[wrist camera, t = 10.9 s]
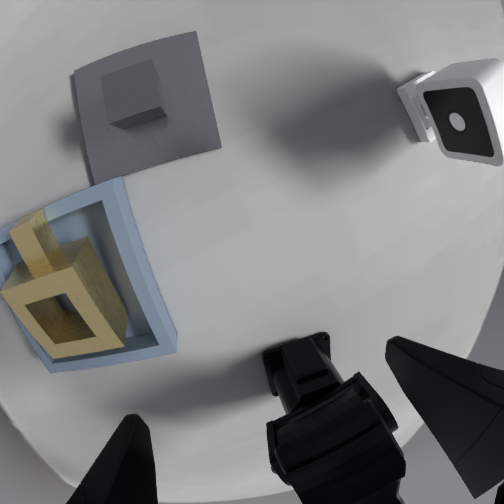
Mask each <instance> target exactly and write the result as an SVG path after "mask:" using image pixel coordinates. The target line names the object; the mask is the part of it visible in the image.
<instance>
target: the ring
mask: <svg viewBox="0 0 504 504" xmlns="http://www.w3.org/2000/svg"><path fill="white" fill-rule="evenodd" d="M9 233H10V235H11V237H12V239H13V241H14V243H15V245H16V247H17V249H18V251H19V253H20V254H21V256H22V258H23V261H21V262H19V263H18V264H17V266H16V267H15V269H14V270H13V272H12V273H11V275H10V276H9V278H8V280H7V281H6V283H5V284H4V286H3V288H2V289H1V291H0V293H1V294H2V296H3V297H4V299H5V300H6V302H7V303H8V304H9V306H10V307H11V309H12V310H13V311H14V313H15V314H16V315H17V317H18V318H19V319H20V321H21V322H22V323H23V324H24V326H25V327H26V328H27V329H28V331H29V332H30V333H31V334H32V335H33V337H34V338H35V339H36V340H37V341H38V343H39V344H40V345H41V346H42V347H43V348H44V349H45V350H46V352H47V353H48V354H49V355H50V356H51V357H52V358H53V359H56V358H62V357H69V356H75V355H81V354H87V353H93V352H99V351H104V350H110V349H115V348H120V347H125V339H126V330H127V321H128V313H129V311H128V310H127V308H126V307H125V305H124V303H123V301H122V300H121V298H120V296H119V295H118V293H117V291H116V289H115V288H114V286H113V284H112V282H111V280H110V279H109V277H108V275H107V273H106V271H105V269H104V267H103V265H102V264H101V262H100V260H99V258H98V256H97V254H96V252H95V250H94V248H93V246H92V244H91V241H90V239H89V237H88V236H86V237H83V238H80V239H77V240H74V241H72V242H69V243H66V244H64V245H61V246H59V244H58V242H57V240H56V238H55V236H54V234H53V232H52V230H51V228H50V226H49V224H48V221H47V219H46V217H45V215H44V213H43V210H42V208H40V209H38V210H36V211H34V212H32V213H30V214H28V215H26V216H24V217H22V218H21V219H20V220H19V221H18V222H17V223H16V224H15V225H14V226H13V227H12V228H11V230H10V231H9ZM63 293H66V294H67V296H68V297H69V299H70V300H71V302H72V303H73V305H74V306H75V308H76V309H75V310H71V311H67V312H65V311H64V309H63V308H62V306H61V305H60V303H59V302H58V301H57V299H56V298H55V296H56V295H59V294H63Z"/></svg>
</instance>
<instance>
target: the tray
mask: <svg viewBox="0 0 504 504" xmlns="http://www.w3.org/2000/svg"><path fill="white" fill-rule="evenodd" d="M42 210H43V213H44V215H45V217H46V219H47V221H48V224H49V226H50V228H51V230H52V232H53V234H54V236H55V238H56V240H57V242H58V244H59V246H61V245H64V244H66V243H69V242H72V241H74V240H77V239H80V238H83V237H86V236H88V237H89V239H90V241H91V244H92V246H93V248H94V250H95V252H96V254H97V256H98V258H99V260H100V262H101V264H102V265H103V267H104V269H105V271H106V273H107V275H108V277H109V279H110V280H111V282H112V284H113V286H114V288H115V289H116V291H117V293H118V295H119V296H120V298H121V300H122V301H123V303H124V305H125V307H126V308H127V310H128V311H129V313H128V321H127V330H126V339H125V347H120V348H115V349H110V350H104V351H99V352H93V353H87V354H81V355H75V356H69V357H62V358H56V359H53V358H52V357H51V356H50V355H49V354H48V353H47V352H46V350H45V349H44V348H43V347H42V346H41V345H40V344H39V343H38V341H37V340H36V339H35V338H34V337H33V335H32V334H31V333H30V332H29V331H28V329H27V328H26V327H25V326H24V324H23V323H22V322H21V321H20V319H19V318H18V317H17V315H16V314H15V313H14V311H13V310H12V309H11V310H12V312H13V314H14V316H15V318H16V320H17V321H18V323H19V325H20V327H21V328H22V330H23V332H24V334H25V335H26V337H27V339H28V340H29V342H30V344H31V345H32V347H33V348H34V350H35V351H36V353H37V354H38V356H39V357H40V359H41V360H42V362H43V363H44V365H45V366H46V368H47V369H48V370H49V372H50V373H55V372H64V371H73V370H81V369H88V368H95V367H102V366H108V365H114V364H120V363H126V362H131V361H137V360H142V359H147V358H152V357H157V356H162V355H167V354H171V353H176V352H177V331H176V329H175V327H174V324H173V322H172V320H171V317H170V315H169V313H168V310H167V308H166V305H165V303H164V300H163V298H162V295H161V293H160V290H159V288H158V285H157V283H156V280H155V277H154V275H153V272H152V269H151V266H150V264H149V261H148V258H147V255H146V252H145V250H144V247H143V244H142V241H141V238H140V235H139V232H138V229H137V225H136V222H135V219H134V216H133V212H132V209H131V206H130V202H129V199H128V195H127V192H126V188H125V185H124V181H123V177H122V176H121V177H117V178H114V179H111V180H108V181H105V182H103V183H100V184H97V185H95V186H92V187H90V188H87V189H85V190H82V191H80V192H77V193H75V194H72V195H70V196H68V197H65V198H63V199H61V200H59V201H56V202H54V203H52V204H50V205H47V206H45V207H43V208H42ZM19 220H20V219H19ZM19 220H17V221H15V222H13V223H11V224H9V225H7V226H6V227H4V228H2V229H0V288H1V289H2V288H3V286H4V284H5V283H6V281H7V280H8V278H9V276H10V275H11V273H12V272H13V270H14V269H15V267H16V266H17V264H18V263H19V262H21V261H23V258H22V256H21V254H20V253H19V251H18V249H17V247H16V245H15V243H14V241H13V239H12V237H11V235H10V233H9V231H10V230H11V228H12V227H13V226H14V225H15V224H16V223H17V222H18V221H19ZM55 298H56V299H57V301H58V302H59V303H60V305H61V306H62V308H63V309H64V311H65V312H67V311H71V310H75V309H76V308H75V306H74V305H73V303H72V302H71V300H70V299H69V297H68V296H67V294H66V293H63V294H59V295H56V296H55ZM10 308H11V307H10Z"/></svg>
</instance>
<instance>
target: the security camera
mask: <svg viewBox="0 0 504 504" xmlns="http://www.w3.org/2000/svg"><path fill="white" fill-rule="evenodd" d="M397 93H398V95H399V97H400V99H401V101H402V103H403V105H404V107H405V109H406V111H407V113H408V115H409V117H410V119H411V121H412V123H413V125H414V128H415V130H416V132H417V134H418V137H419V139H420V141H421V142H432V141H434V140H435V139H437V142H438V144H439V147H440V149H441V151H442V153H443V154H444V155H445V156H446V157H448V158H453V159H460V160H467V161H473V162H478V163H484V164H489V165H494V166H501V165H502V164H503V163H504V63H503V62H502V61H501V60H499V59H495V58H494V59H484V60H475V61H468V62H461V63H455V64H451V65H449V66H447V67H446V68H444V69H442V70H440V71H439V72H437V73H435V71H430V72H425V73H423V74H421V75H419V76H418V77H416V78H414V79H412V80H411V81H409V82H407V83H405V84H404V85H402V86H400V87H398V88H397Z"/></svg>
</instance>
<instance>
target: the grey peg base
mask: <svg viewBox="0 0 504 504" xmlns="http://www.w3.org/2000/svg"><path fill="white" fill-rule="evenodd" d="M74 77H75V86H76V94H77V101H78V108H79V114H80V120H81V125H82V131H83V136H84V141H85V146H86V150H87V155H88V159H89V163H90V167H91V171H92V175H93V179H94V183H95V185H97V184H100V183H103V182H105V181H108V180H111V179H114V178H117V177H121V176H124V175H127V174H130V173H133V172H136V171H139V170H142V169H145V168H148V167H151V166H154V165H158V164H161V163H164V162H168V161H171V160H175V159H178V158H182V157H186V156H189V155H193V154H197V153H201V152H205V151H209V150H213V149H217V148H222V146H221V141H220V137H219V133H218V128H217V124H216V119H215V115H214V110H213V106H212V101H211V97H210V92H209V88H208V83H207V79H206V74H205V70H204V65H203V61H202V56H201V51H200V47H199V42H198V38H197V33H196V31H193V32H188V33H184V34H179V35H175V36H171V37H167V38H163V39H159V40H155V41H152V42H148V43H145V44H142V45H138V46H135V47H132V48H129V49H126V50H123V51H121V52H118V53H115V54H112V55H110V56H107V57H105V58H102V59H100V60H97V61H95V62H93V63H90V64H88V65H86V66H84V67H81V68H79V69H77V70H75V71H74Z"/></svg>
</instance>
